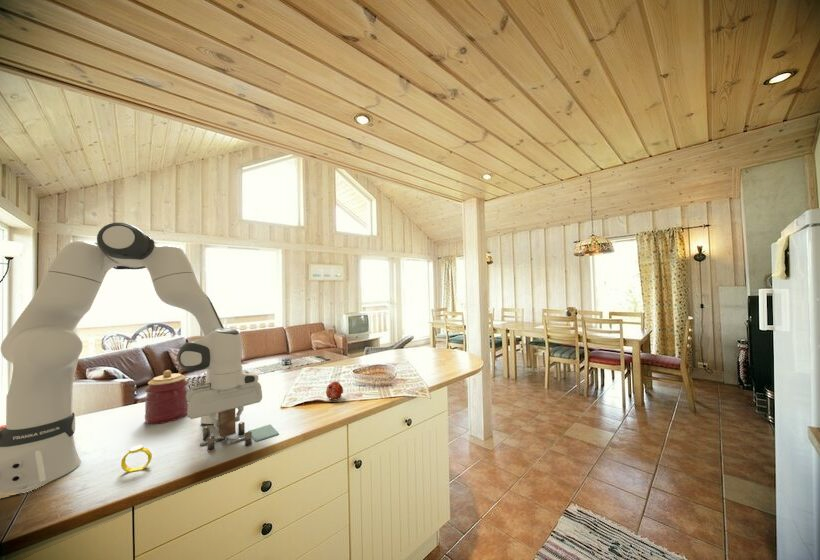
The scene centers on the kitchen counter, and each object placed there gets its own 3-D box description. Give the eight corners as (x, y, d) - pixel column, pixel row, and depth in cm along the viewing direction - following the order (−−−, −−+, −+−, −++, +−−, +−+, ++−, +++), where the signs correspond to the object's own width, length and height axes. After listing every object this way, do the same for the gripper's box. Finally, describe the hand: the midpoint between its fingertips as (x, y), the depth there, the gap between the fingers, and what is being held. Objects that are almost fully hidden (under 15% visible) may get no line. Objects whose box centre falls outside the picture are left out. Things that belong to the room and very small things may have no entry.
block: (220, 438, 93) (220, 412, 93) (218, 433, 96) (218, 408, 96) (235, 433, 95) (235, 408, 95) (232, 429, 98) (232, 404, 98)
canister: (144, 428, 105) (144, 377, 105) (144, 417, 115) (144, 370, 115) (190, 417, 114) (190, 370, 114) (187, 407, 123) (186, 364, 124)
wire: (203, 452, 88) (203, 450, 88) (200, 445, 92) (200, 442, 92) (251, 437, 97) (251, 435, 97) (247, 431, 101) (247, 428, 101)
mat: (255, 442, 94) (255, 440, 94) (248, 432, 100) (248, 430, 100) (278, 434, 98) (278, 433, 98) (270, 425, 105) (270, 424, 105)
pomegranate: (332, 400, 134) (317, 392, 127) (341, 384, 137) (327, 376, 130) (342, 406, 129) (327, 397, 122) (351, 389, 132) (337, 380, 126)
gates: (210, 458, 85) (210, 445, 85) (202, 438, 97) (202, 427, 97) (252, 444, 92) (252, 432, 92) (240, 427, 104) (240, 417, 104)
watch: (120, 476, 78) (118, 454, 78) (125, 471, 81) (123, 448, 81) (149, 469, 80) (147, 447, 80) (153, 463, 83) (151, 442, 83)
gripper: (187, 390, 86) (187, 439, 86) (263, 375, 100) (263, 417, 100) (184, 385, 91) (185, 431, 91) (257, 371, 105) (258, 411, 104)
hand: (227, 423), depth 95 cm, fingers closed on block, 4 cm apart
